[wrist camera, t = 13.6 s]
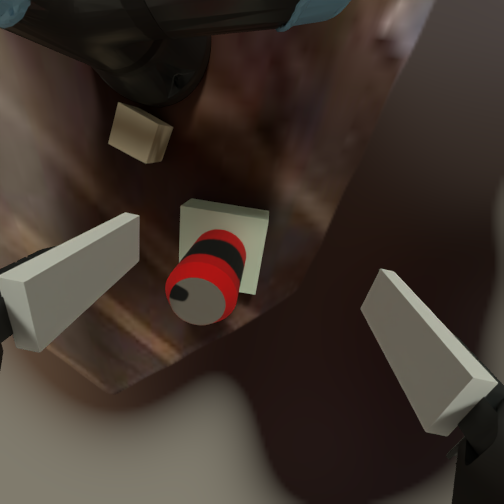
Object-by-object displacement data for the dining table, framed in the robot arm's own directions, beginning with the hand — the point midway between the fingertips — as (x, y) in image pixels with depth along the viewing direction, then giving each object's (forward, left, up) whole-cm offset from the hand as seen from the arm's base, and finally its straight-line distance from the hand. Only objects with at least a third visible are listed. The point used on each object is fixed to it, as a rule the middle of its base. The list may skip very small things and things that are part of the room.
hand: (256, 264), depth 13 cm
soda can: (-5, -9, -20) cm, 22 cm away
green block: (-5, -9, -25) cm, 27 cm away
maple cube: (-17, +5, -25) cm, 31 cm away
